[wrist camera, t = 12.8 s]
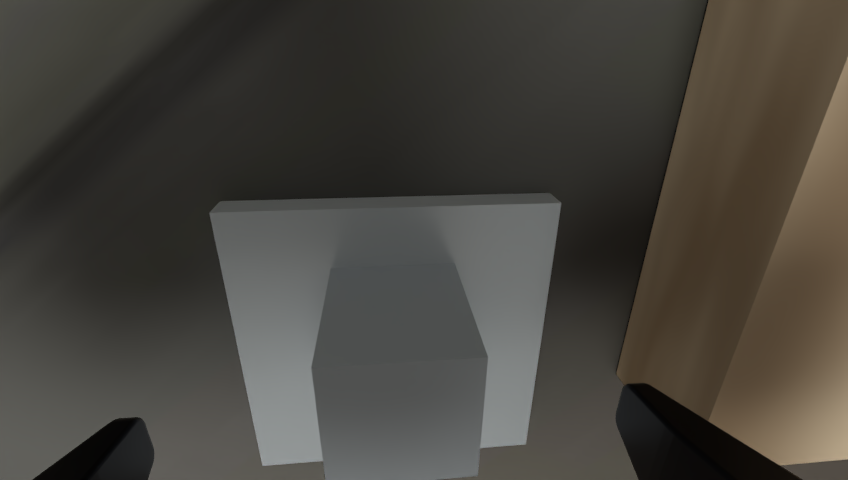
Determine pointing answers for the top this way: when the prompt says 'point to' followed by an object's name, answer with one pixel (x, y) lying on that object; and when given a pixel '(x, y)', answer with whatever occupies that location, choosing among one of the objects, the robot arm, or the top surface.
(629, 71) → the top surface
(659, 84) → the top surface
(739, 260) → the birch box
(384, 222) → the lid
